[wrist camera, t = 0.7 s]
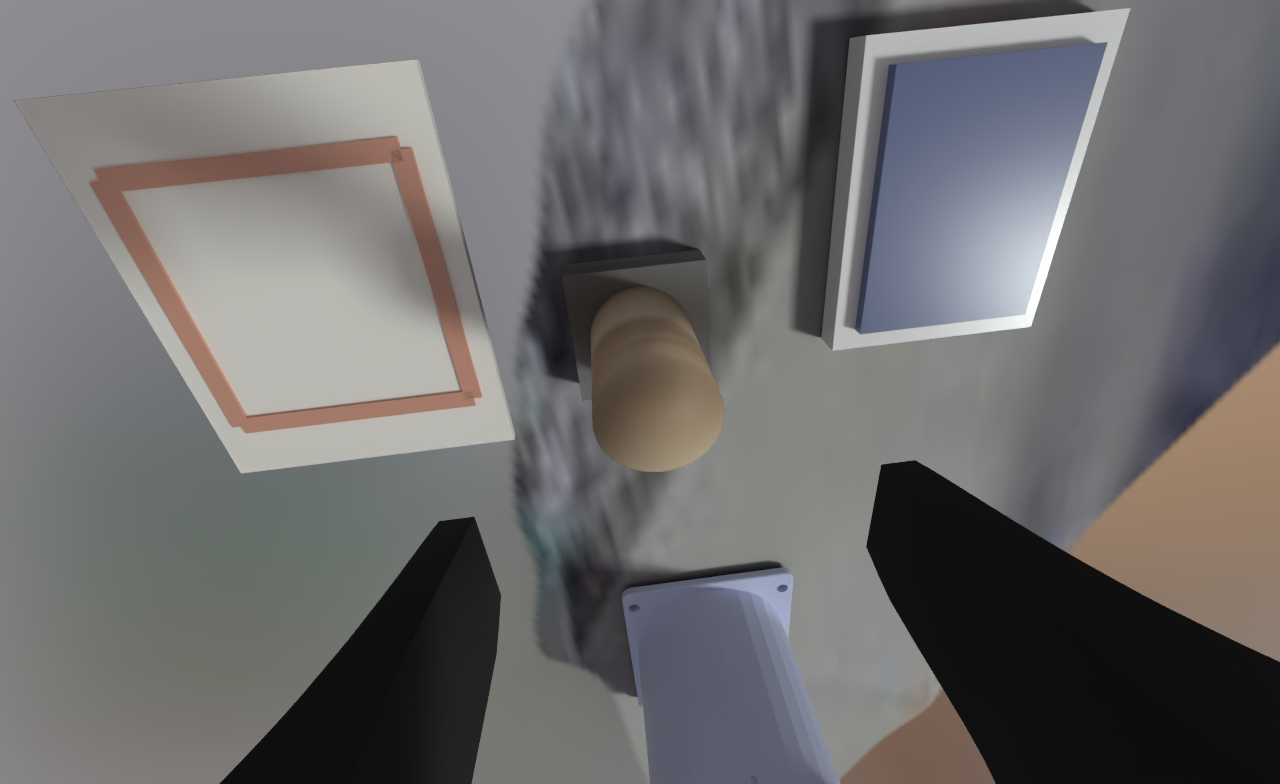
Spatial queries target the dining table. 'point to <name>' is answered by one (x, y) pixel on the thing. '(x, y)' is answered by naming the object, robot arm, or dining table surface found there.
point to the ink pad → (959, 173)
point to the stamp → (645, 356)
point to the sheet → (292, 256)
